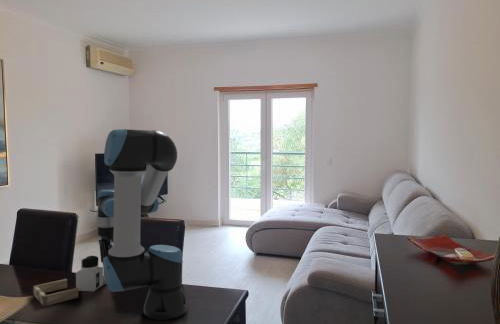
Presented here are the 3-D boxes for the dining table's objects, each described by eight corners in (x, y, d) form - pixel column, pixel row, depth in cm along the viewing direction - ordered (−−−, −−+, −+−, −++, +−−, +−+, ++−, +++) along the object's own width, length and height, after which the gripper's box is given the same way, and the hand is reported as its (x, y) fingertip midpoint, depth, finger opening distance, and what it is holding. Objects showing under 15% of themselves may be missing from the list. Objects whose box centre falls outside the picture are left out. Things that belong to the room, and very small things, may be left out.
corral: (78, 297, 143) (78, 288, 143) (43, 306, 134) (43, 297, 134) (66, 287, 153) (66, 278, 153) (33, 294, 145) (33, 286, 145)
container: (103, 284, 156) (103, 254, 156) (93, 291, 149) (93, 260, 148) (86, 283, 157) (86, 253, 157) (75, 290, 149) (75, 259, 149)
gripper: (122, 227, 155) (122, 282, 156) (109, 222, 164) (109, 274, 165) (104, 229, 150) (104, 286, 150) (92, 224, 159) (92, 278, 160)
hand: (107, 280), depth 158 cm, fingers closed
